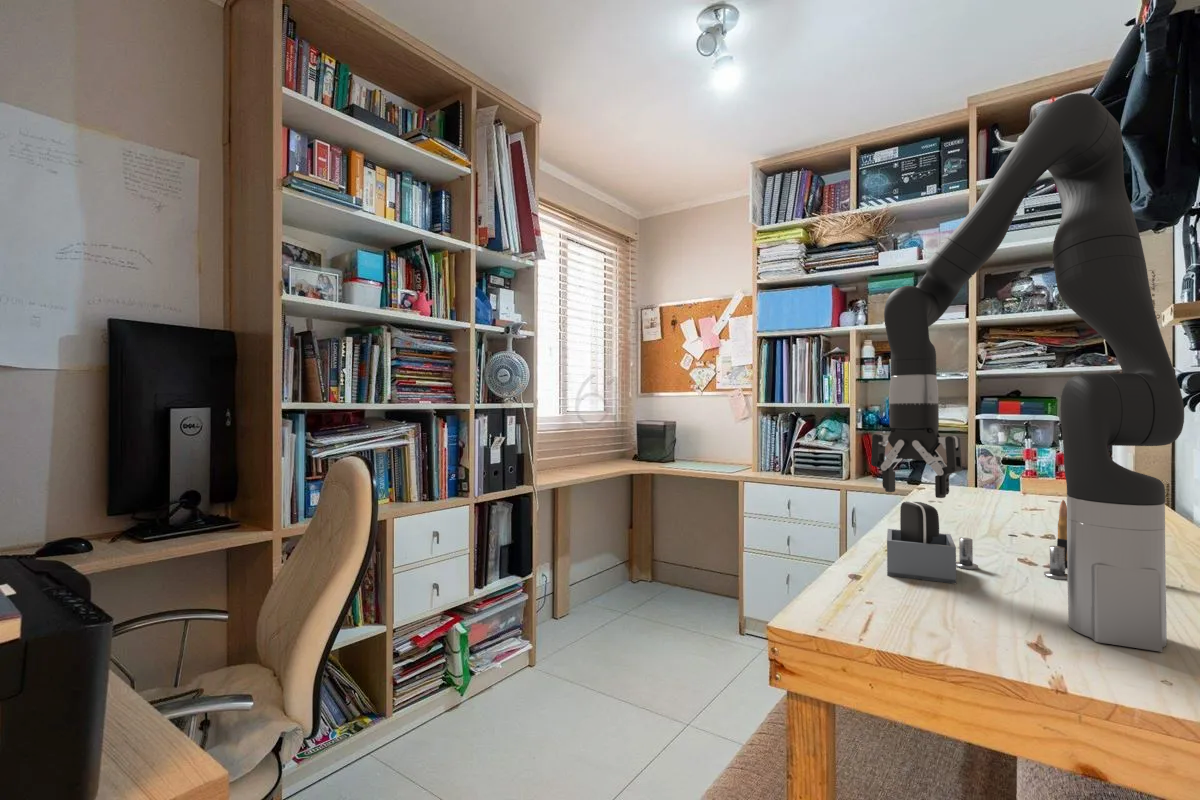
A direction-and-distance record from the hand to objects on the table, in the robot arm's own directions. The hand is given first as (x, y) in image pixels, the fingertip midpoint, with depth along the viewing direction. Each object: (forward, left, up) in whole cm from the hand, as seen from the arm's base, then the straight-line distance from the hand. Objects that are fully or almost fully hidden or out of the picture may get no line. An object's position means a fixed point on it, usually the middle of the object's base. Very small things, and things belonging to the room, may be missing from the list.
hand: (914, 494), depth 97 cm
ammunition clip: (+14, -28, -14) cm, 34 cm away
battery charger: (+1, -1, -13) cm, 13 cm away
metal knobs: (+8, -15, -14) cm, 22 cm away
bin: (+1, -1, -14) cm, 14 cm away
